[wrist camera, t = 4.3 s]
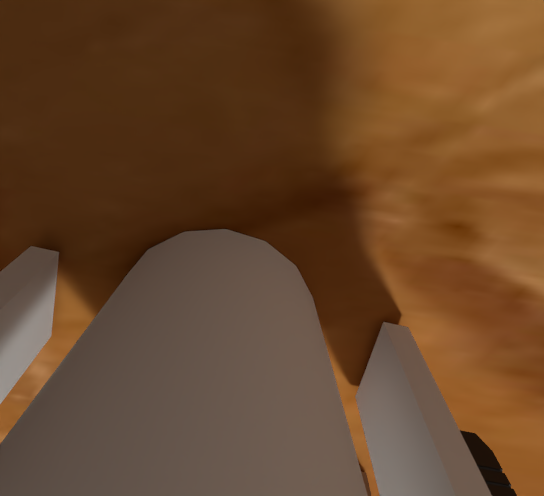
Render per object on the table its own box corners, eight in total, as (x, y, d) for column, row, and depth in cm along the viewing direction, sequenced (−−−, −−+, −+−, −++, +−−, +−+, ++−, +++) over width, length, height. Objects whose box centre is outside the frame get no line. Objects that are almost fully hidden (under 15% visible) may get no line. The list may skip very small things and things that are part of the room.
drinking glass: (351, 387, 16) (476, 892, 6) (148, 433, 16) (-12, 955, 7) (299, 184, 13) (376, 518, 4) (63, 247, 14) (-360, 666, 4)
